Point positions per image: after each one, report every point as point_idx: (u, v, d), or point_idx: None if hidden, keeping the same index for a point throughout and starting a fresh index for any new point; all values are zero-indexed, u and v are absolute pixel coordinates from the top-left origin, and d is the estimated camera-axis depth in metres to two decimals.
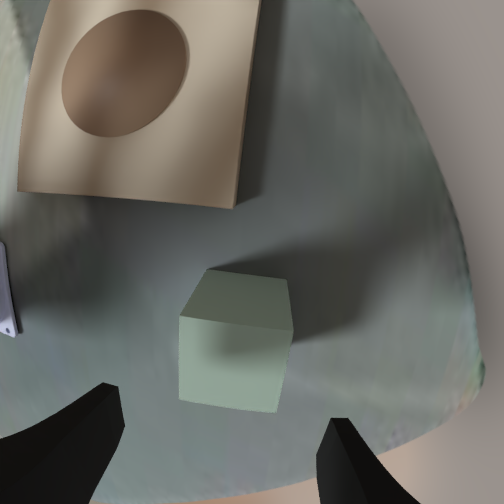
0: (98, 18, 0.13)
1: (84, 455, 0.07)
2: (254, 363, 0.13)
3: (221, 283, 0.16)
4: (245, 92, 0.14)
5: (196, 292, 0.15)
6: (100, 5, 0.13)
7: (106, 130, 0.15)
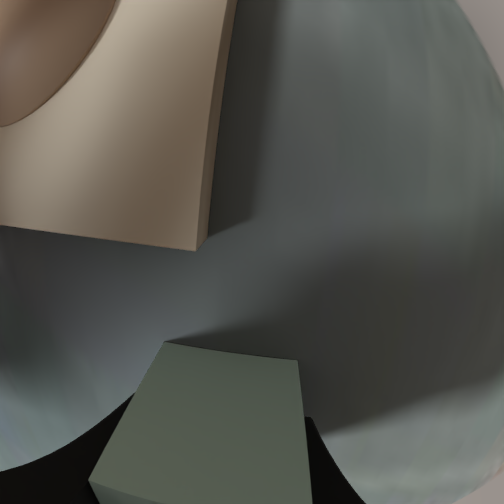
0: None
1: None
2: None
3: (181, 380, 0.08)
4: (221, 23, 0.06)
5: (131, 409, 0.07)
6: None
7: None
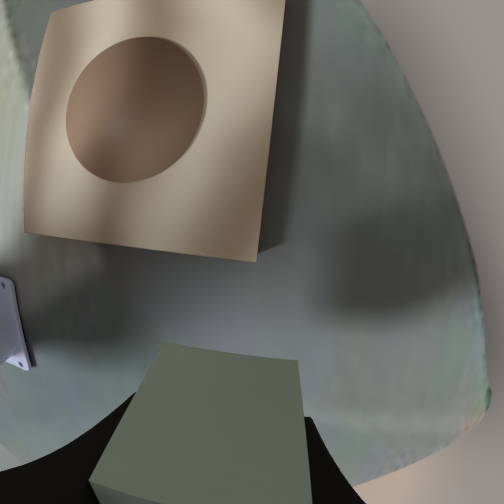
0: (103, 45, 0.13)
1: None
2: None
3: (182, 380, 0.08)
4: (269, 138, 0.14)
5: (132, 409, 0.07)
6: (104, 29, 0.12)
7: (118, 175, 0.14)
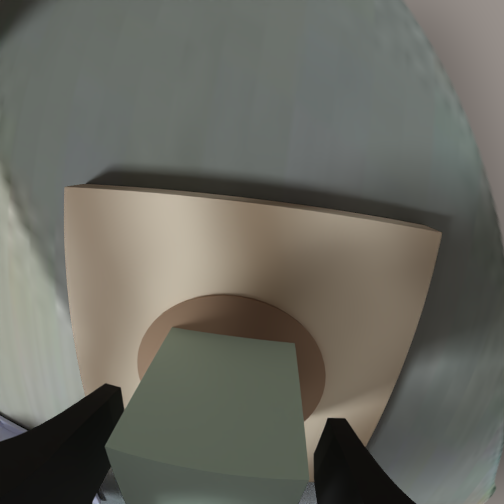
0: (176, 291, 0.11)
1: (87, 456, 0.07)
2: None
3: (188, 359, 0.09)
4: (382, 411, 0.12)
5: (143, 384, 0.08)
6: (173, 262, 0.11)
7: None
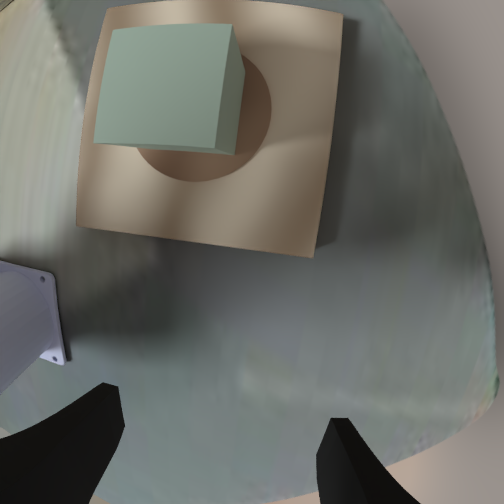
0: None
1: (84, 455, 0.07)
2: (186, 66, 0.09)
3: None
4: (329, 149, 0.15)
5: None
6: None
7: (186, 174, 0.16)
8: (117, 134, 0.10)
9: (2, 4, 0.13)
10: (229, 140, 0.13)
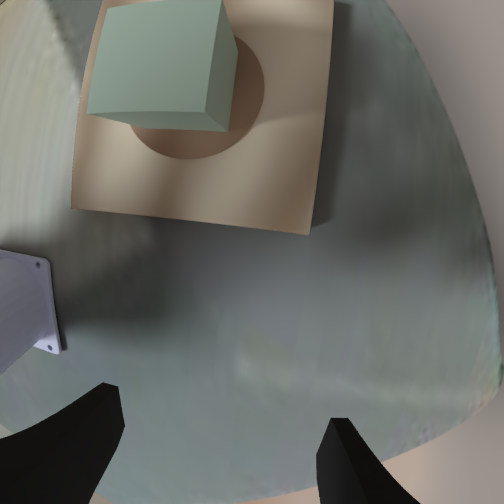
0: None
1: (84, 455, 0.07)
2: (177, 37, 0.09)
3: None
4: (322, 125, 0.15)
5: None
6: None
7: (180, 152, 0.16)
8: (110, 103, 0.09)
9: None
10: (221, 113, 0.13)
